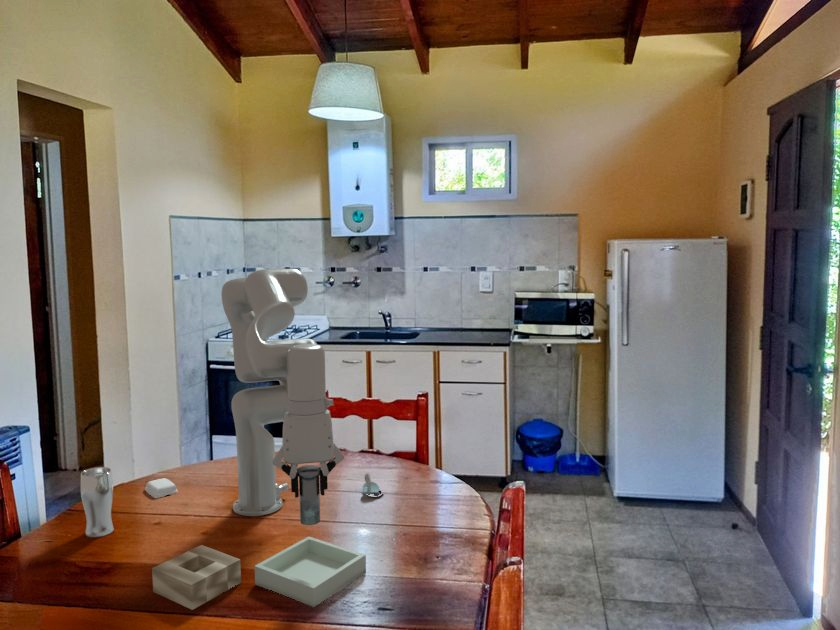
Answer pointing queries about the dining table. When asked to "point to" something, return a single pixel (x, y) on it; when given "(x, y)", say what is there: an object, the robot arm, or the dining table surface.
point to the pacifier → (369, 486)
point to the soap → (160, 488)
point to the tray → (310, 570)
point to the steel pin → (309, 494)
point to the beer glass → (97, 500)
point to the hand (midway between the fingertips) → (309, 493)
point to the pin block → (196, 576)
